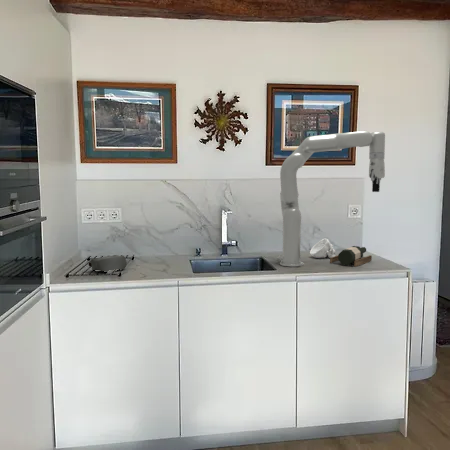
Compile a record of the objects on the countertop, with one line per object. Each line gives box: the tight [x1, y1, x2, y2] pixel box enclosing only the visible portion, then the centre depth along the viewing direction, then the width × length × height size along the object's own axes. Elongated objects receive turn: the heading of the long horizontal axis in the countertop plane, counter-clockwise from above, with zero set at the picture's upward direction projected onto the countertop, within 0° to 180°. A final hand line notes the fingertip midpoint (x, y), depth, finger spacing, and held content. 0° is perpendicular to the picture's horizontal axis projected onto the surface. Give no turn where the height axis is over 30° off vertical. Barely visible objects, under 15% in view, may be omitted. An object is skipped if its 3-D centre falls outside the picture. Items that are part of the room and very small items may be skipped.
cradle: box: [329, 254, 373, 268], centre depth 245 cm, size 15×20×3 cm
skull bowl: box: [309, 238, 337, 259], centre depth 259 cm, size 10×14×12 cm
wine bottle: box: [337, 245, 367, 266], centre depth 246 cm, size 8×8×30 cm
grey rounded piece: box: [88, 254, 128, 271], centre depth 231 cm, size 18×11×8 cm, turn 135°
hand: (375, 191), depth 232 cm, fingers closed
